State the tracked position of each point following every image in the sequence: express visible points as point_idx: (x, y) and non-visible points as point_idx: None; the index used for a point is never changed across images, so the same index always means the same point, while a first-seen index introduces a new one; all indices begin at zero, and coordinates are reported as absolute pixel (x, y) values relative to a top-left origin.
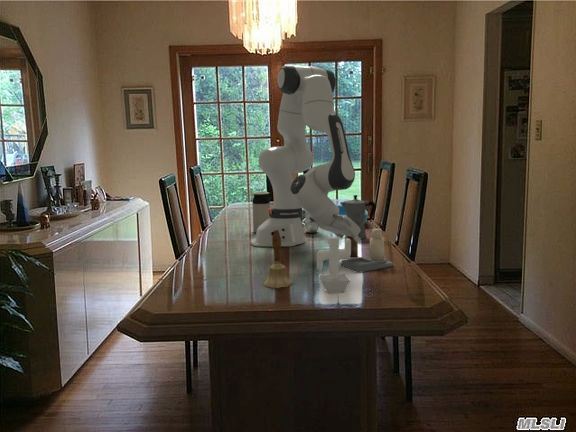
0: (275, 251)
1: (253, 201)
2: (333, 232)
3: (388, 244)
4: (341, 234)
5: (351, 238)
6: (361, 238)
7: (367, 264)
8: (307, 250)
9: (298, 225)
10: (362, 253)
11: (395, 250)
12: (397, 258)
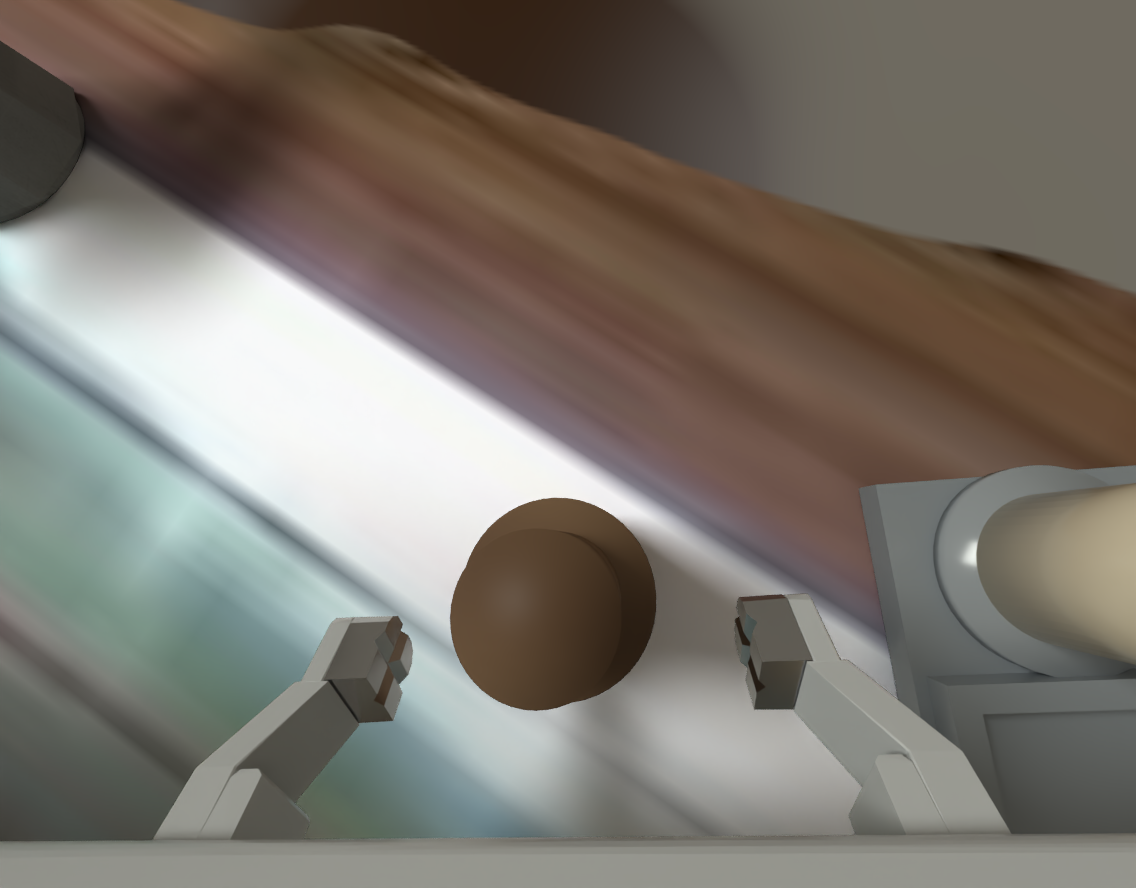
0: None
1: None
2: (299, 817)
3: (373, 75)
4: (386, 672)
5: (644, 649)
6: (82, 140)
7: None
8: (131, 807)
9: None
10: (533, 420)
11: (584, 136)
12: (856, 272)
